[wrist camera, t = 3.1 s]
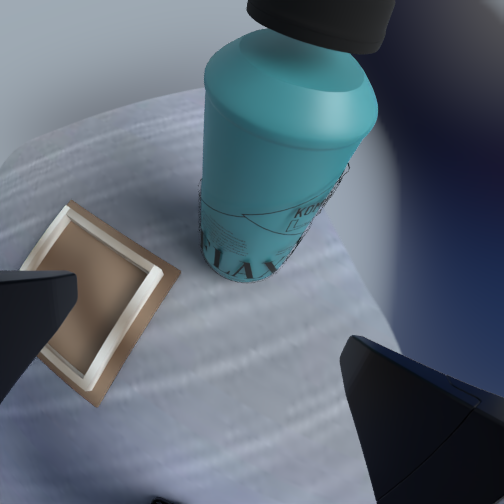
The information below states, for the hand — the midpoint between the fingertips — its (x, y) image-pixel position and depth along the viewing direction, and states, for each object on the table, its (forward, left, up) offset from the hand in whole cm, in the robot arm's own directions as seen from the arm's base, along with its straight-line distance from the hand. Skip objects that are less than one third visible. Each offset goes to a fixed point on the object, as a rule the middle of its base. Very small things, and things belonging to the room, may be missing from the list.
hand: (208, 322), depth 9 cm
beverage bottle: (+8, +2, -12) cm, 15 cm away
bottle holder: (-2, +11, -12) cm, 16 cm away
